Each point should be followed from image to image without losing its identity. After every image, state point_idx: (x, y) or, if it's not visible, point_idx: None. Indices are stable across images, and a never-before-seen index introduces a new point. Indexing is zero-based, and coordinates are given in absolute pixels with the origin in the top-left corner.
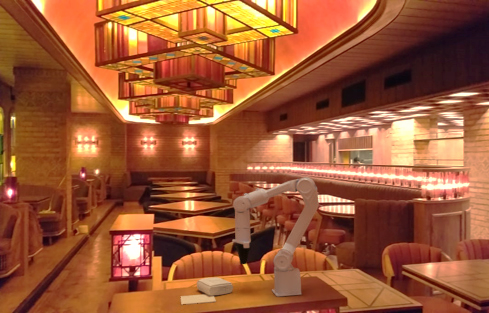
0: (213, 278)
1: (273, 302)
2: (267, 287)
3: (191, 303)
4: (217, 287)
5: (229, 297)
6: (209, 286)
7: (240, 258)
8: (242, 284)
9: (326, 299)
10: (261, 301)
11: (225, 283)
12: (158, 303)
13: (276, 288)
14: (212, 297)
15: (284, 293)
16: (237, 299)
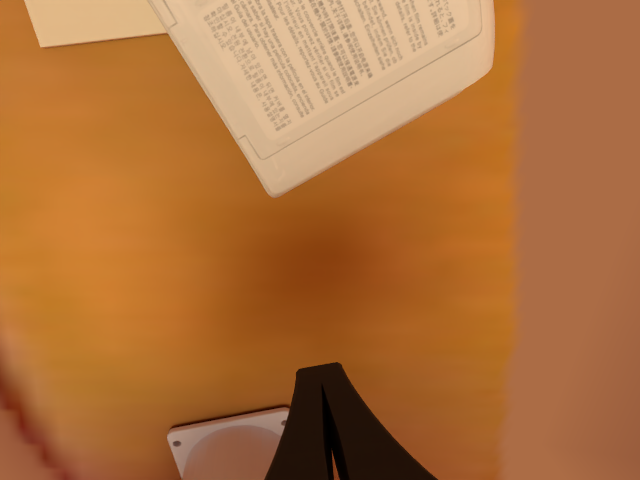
0: (419, 14)
1: (68, 409)
2: (362, 385)
3: None
4: (185, 59)
5: (168, 159)
6: None
7: (285, 426)
8: (463, 250)
9: None
10: (83, 353)
11: (239, 140)
12: None
13: (206, 456)
14: (141, 16)
15: (183, 470)
16: (120, 214)
